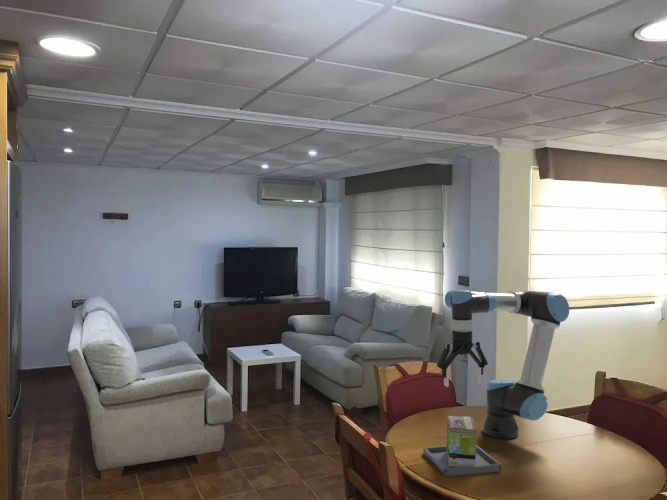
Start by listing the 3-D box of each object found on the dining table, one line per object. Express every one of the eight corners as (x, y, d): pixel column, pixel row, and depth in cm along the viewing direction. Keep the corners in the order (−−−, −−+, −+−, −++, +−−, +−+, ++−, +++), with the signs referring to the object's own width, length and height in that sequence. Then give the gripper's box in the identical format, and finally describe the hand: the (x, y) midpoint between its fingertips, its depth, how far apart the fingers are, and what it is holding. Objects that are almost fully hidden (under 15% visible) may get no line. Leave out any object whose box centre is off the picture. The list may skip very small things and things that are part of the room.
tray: (474, 449, 218) (474, 443, 218) (501, 471, 197) (501, 464, 197) (423, 453, 213) (423, 447, 213) (444, 476, 193) (444, 469, 193)
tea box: (476, 469, 197) (476, 429, 197) (448, 467, 198) (448, 427, 198) (472, 453, 212) (472, 415, 212) (446, 451, 213) (446, 414, 213)
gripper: (486, 326, 214) (487, 379, 215) (428, 330, 209) (428, 384, 209) (496, 329, 207) (496, 384, 208) (435, 333, 201) (436, 389, 202)
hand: (462, 384), depth 208 cm, fingers open, 13 cm apart
